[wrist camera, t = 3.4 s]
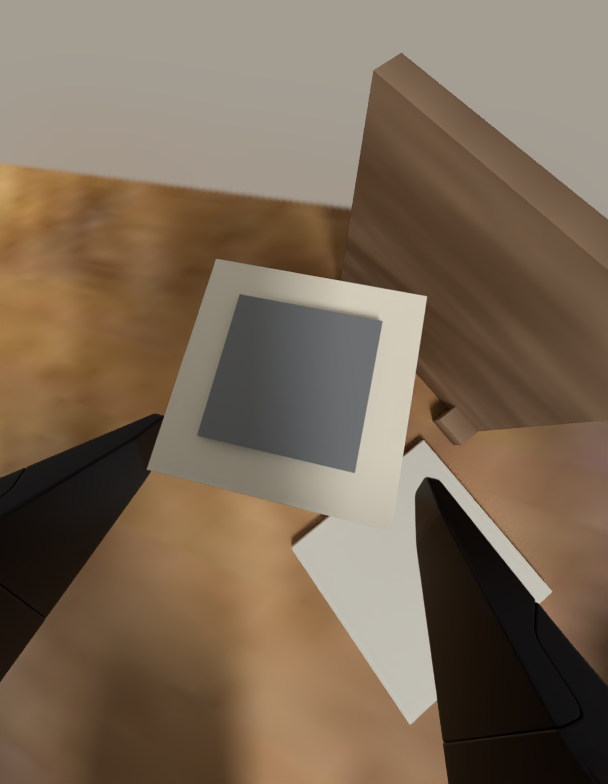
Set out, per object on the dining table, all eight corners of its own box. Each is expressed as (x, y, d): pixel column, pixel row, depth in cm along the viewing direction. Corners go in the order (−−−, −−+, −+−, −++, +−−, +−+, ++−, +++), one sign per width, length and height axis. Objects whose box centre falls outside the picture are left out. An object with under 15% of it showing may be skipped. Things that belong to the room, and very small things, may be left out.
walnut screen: (453, 444, 18) (728, 443, 6) (325, 297, 20) (339, 91, 8) (496, 408, 18) (837, 340, 6) (365, 268, 21) (433, 33, 9)
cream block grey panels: (335, 472, 18) (393, 546, 5) (263, 455, 18) (136, 481, 5) (349, 398, 19) (431, 291, 6) (281, 383, 19) (212, 253, 6)
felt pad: (407, 717, 15) (410, 724, 14) (291, 545, 17) (291, 548, 16) (546, 588, 16) (552, 591, 15) (421, 440, 18) (423, 440, 17)
